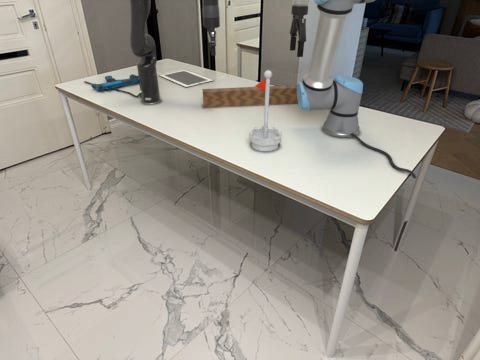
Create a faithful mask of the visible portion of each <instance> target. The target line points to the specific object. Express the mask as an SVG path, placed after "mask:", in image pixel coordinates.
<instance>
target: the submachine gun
mask: <svg viewBox="0 0 480 360" xmlns="http://www.w3.org/2000/svg"><path fill="white" fill-rule="evenodd" d="M104 80H106V82H101V83H92V84H90V86H91V88H92V89H94V90H95V91H97V92H99V91H103V90H105V91H107V90H108V91H111V90H112V89H111V88H113V89H116V88H120V87H123V86H128V85H133V84H139V83H140V81H139V75H136V74H134V73H132V74H130V75H129V78H123V79H116V78H115V77H113V76H112V75H106V76H104Z"/></svg>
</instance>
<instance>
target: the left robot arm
mask: <svg viewBox="0 0 480 360" xmlns="http://www.w3.org/2000/svg"><path fill="white" fill-rule="evenodd" d="M151 3H152V2H151V0H129V11H130V12H129V14H130V15H129V16H130V17H129V19H130V31H129V32H130V34H129V47H130V50H131V52H132V54H133V55H134V56H135V57H138V58H139V60H138V61H137V63H136V69H137V74H138V75H137V76H139V81H140V82H138V86H139V91H140V92H138V94H137V95H135V94H134V93H132V92H129V91H126V90H122V89H118V88H111V89H110V90H113V91H116V92H121V93H125V94H129V95H131V96H133V98H140V99H141V102H142V104H144V105H156V104H159V103H160V102H162V101H161V94H160V93H161V92H160V86H159V79H158V72H157V61H158V59H157V47H156V43H155V40H154V38H153V37H152V35H150V34H148V33H145V31H146V24H147V20H148V17H149V14H150V10H151ZM220 18H221V17H220V5H219V0H202V26H203V28H205V29H208V31H207V32H206V33H207V39H208V43H209V52H210V56H216V55H217V54H216V50H217V49H216V47H217V31H216V30H215V29H218V28H220V27H221V22H220V21H221V19H220ZM84 83H85V84H89V85H91V84H93V83H91V82H89V81H87V80H84Z"/></svg>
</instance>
